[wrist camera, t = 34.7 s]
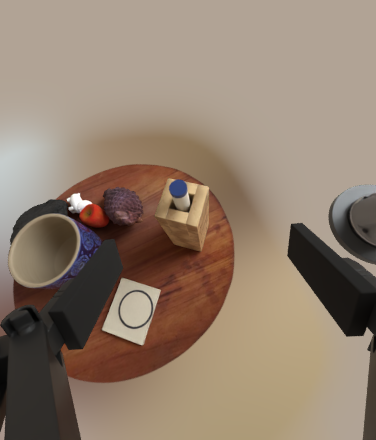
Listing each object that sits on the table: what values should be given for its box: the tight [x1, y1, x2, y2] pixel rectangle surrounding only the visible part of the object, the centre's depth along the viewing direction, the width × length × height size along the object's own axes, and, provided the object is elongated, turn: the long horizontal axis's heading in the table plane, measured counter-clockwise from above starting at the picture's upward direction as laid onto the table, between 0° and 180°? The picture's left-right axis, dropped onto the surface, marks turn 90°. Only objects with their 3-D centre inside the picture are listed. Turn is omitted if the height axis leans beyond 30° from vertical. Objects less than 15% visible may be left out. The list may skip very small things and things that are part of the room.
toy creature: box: [67, 193, 92, 213], centre depth 61 cm, size 5×8×6 cm
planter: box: [8, 213, 103, 289], centre depth 50 cm, size 16×17×15 cm
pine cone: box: [103, 187, 143, 227], centre depth 57 cm, size 18×10×10 cm
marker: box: [169, 180, 191, 213], centre depth 38 cm, size 3×3×13 cm
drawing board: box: [102, 278, 161, 345], centre depth 51 cm, size 11×13×1 cm
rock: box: [10, 200, 68, 244], centre depth 56 cm, size 15×14×7 cm
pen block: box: [154, 178, 209, 252], centre depth 47 cm, size 8×8×22 cm
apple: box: [79, 204, 109, 228], centre depth 57 cm, size 6×6×8 cm
